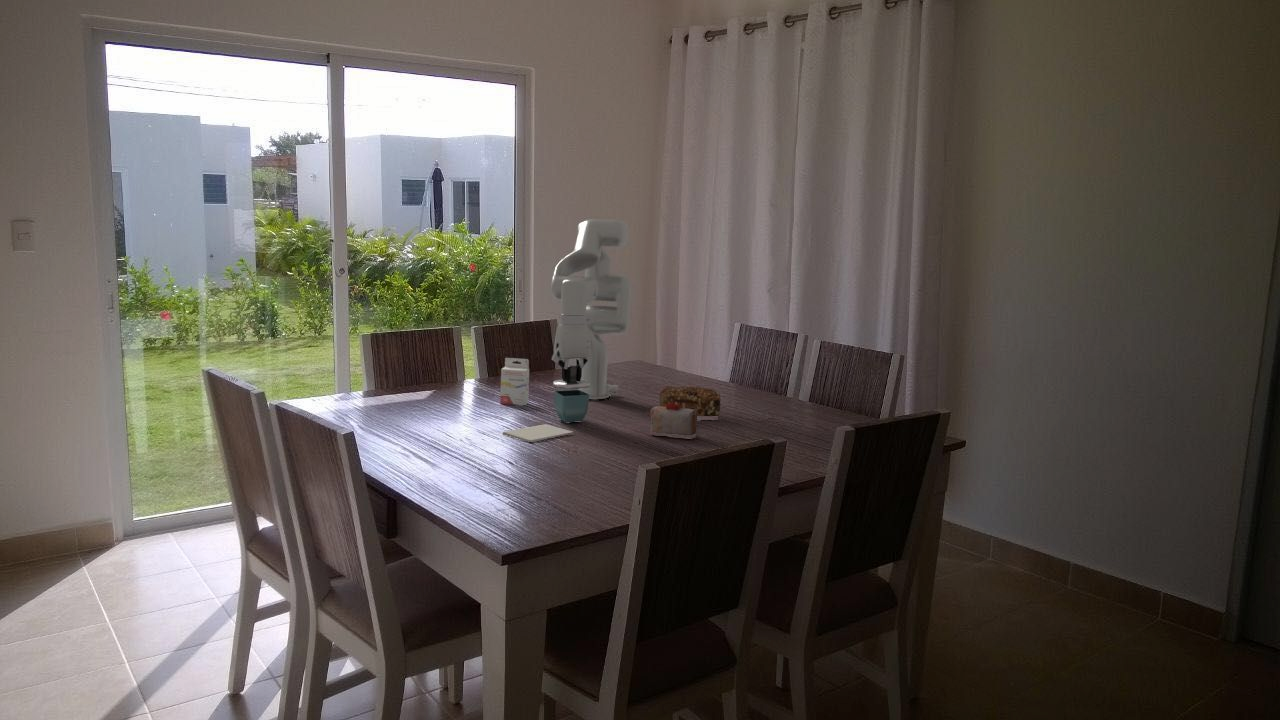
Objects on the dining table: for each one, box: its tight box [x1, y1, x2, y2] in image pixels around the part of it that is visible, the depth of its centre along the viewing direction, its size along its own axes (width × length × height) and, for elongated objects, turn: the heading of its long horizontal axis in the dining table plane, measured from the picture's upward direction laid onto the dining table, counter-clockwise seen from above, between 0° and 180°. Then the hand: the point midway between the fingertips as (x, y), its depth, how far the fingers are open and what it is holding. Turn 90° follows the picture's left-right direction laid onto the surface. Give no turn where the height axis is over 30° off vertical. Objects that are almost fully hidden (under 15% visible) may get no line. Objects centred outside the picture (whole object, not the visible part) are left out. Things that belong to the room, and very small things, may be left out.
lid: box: [552, 364, 590, 390], centre depth 280 cm, size 11×11×6 cm
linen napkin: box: [502, 423, 574, 443], centre depth 264 cm, size 16×12×1 cm
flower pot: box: [552, 389, 590, 423], centre depth 281 cm, size 9×9×9 cm
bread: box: [659, 385, 721, 417], centre depth 294 cm, size 19×11×10 cm, turn 91°
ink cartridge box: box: [499, 357, 530, 406], centre depth 303 cm, size 9×5×15 cm, turn 84°
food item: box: [649, 402, 698, 435], centre depth 269 cm, size 14×8×10 cm, turn 73°
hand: (571, 380), depth 280 cm, fingers closed on lid, 3 cm apart
